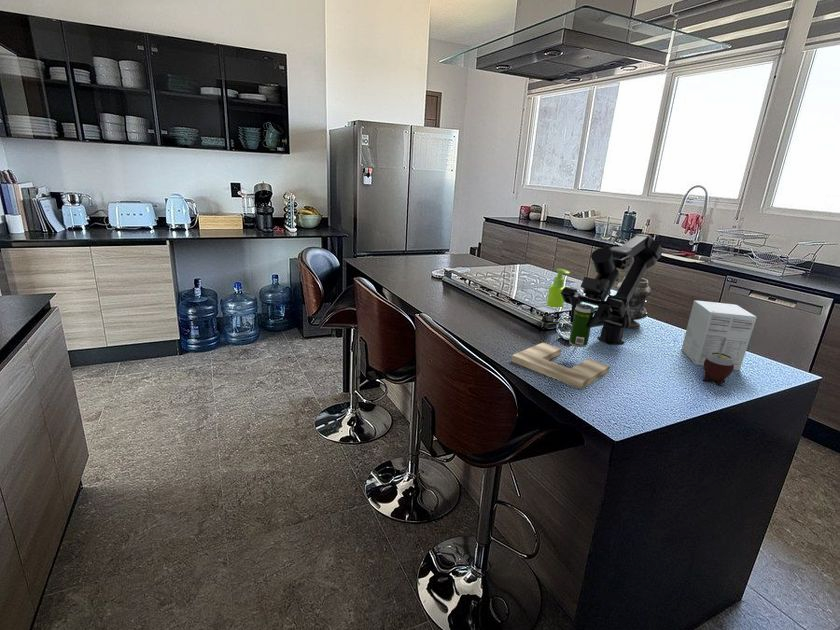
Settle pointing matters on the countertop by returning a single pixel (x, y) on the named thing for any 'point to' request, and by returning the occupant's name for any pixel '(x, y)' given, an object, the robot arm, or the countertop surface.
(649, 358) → the countertop surface
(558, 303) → the soap dispenser
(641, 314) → the carved stone vase
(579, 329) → the green drink can
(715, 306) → the supplement box
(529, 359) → the tan u-shaped bracket
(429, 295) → the countertop surface
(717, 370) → the mate gourd
